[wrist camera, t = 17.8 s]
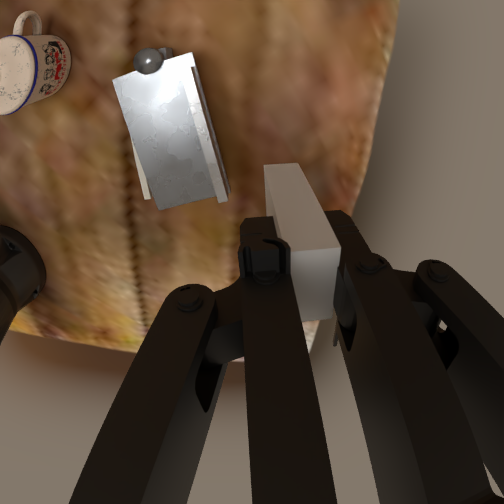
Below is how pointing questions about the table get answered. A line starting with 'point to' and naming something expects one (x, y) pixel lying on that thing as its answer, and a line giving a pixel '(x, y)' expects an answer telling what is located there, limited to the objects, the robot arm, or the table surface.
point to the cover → (172, 129)
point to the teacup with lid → (31, 65)
